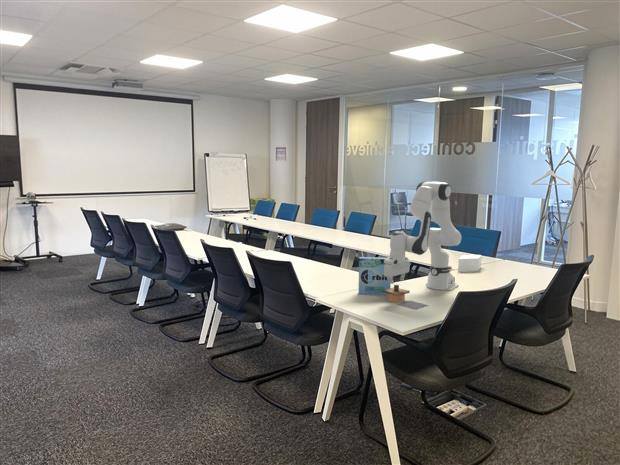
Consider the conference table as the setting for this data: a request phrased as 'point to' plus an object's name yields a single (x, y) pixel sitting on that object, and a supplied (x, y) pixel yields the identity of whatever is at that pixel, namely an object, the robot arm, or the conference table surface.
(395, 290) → the lid
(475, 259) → the white rectangular block
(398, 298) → the bowl
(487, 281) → the conference table surface
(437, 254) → the robot arm
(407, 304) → the mat
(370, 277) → the gum box
